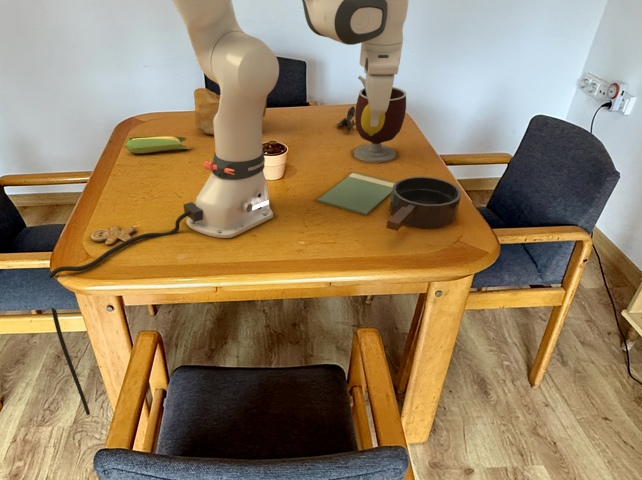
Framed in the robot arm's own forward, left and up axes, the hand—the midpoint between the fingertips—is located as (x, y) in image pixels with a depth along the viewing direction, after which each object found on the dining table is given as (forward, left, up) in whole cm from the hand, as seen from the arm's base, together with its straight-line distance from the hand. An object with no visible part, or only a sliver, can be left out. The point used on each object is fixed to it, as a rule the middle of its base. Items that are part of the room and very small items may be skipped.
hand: (372, 120), depth 126 cm
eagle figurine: (+40, +26, -19) cm, 51 cm away
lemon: (0, 0, -4) cm, 4 cm away
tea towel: (0, +1, -19) cm, 19 cm away
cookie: (-52, +39, -19) cm, 68 cm away
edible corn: (-7, +66, -19) cm, 69 cm away
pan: (-2, -17, -19) cm, 25 cm away
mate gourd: (+26, +10, -19) cm, 34 cm away
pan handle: (-15, -17, -14) cm, 27 cm away
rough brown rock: (+21, +59, -19) cm, 66 cm away
